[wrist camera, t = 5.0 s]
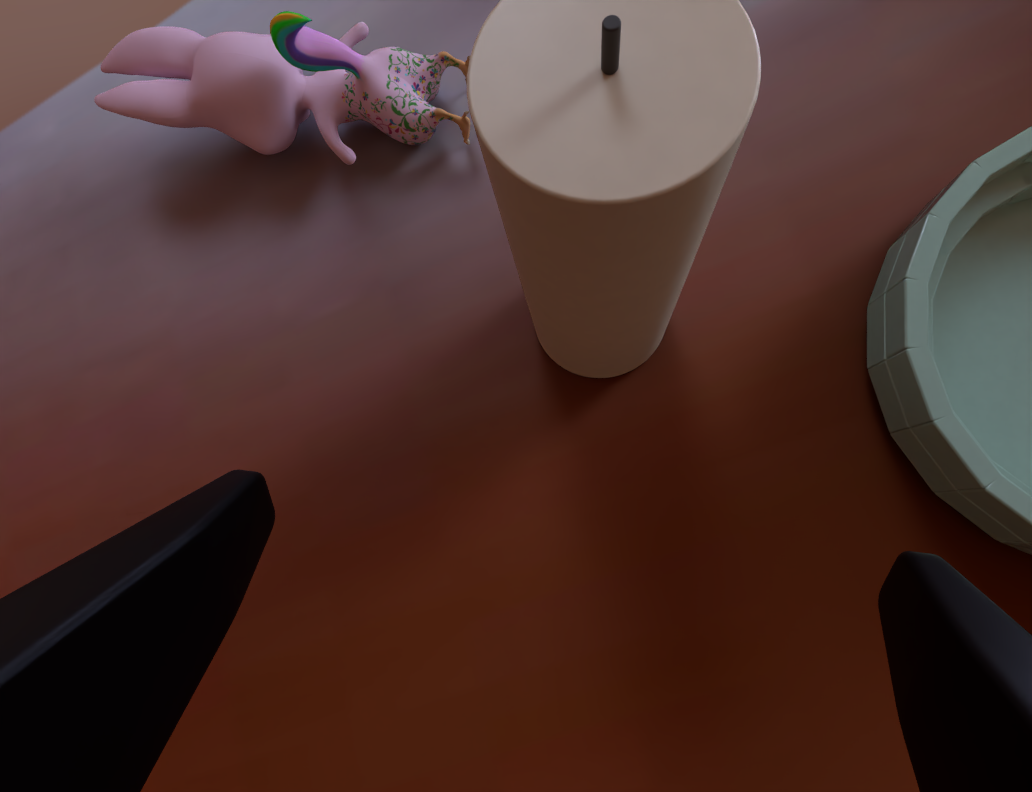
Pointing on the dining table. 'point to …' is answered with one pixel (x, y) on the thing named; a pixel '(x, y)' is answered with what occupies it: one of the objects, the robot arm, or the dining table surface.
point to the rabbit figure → (278, 84)
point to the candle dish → (964, 342)
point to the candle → (609, 157)
